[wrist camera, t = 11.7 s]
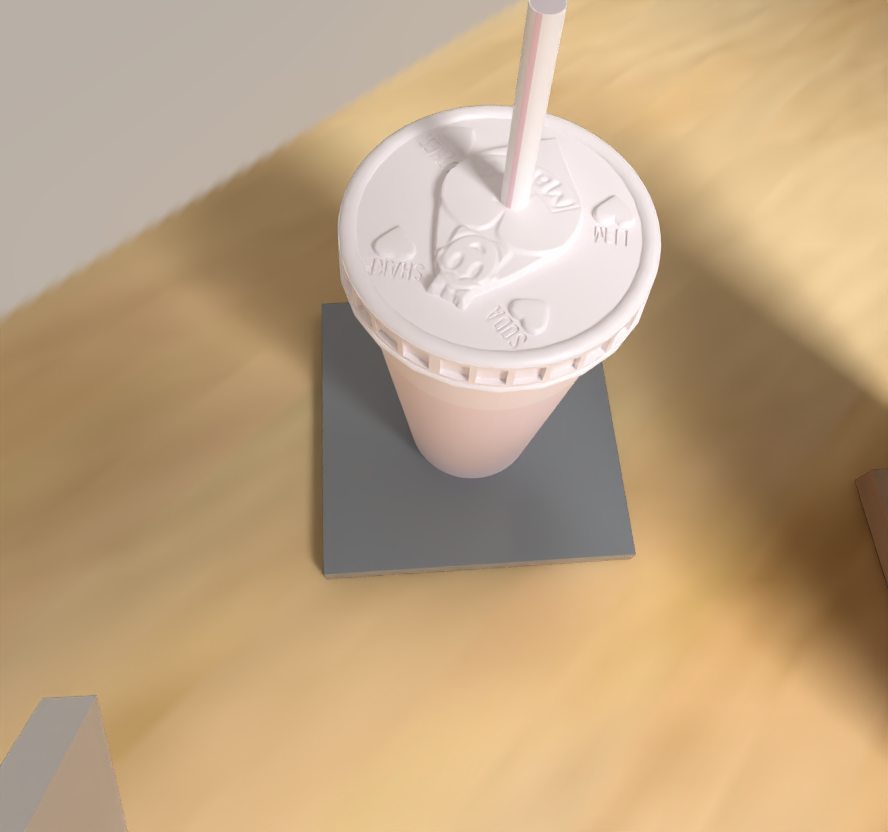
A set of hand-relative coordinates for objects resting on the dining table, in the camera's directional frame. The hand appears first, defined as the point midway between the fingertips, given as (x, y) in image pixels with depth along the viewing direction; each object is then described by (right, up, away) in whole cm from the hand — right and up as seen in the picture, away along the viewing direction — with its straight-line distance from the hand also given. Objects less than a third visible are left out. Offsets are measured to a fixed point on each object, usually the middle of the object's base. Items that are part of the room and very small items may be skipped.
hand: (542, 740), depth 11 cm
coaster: (-1, +5, +12) cm, 13 cm away
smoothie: (-1, +5, +12) cm, 13 cm away
